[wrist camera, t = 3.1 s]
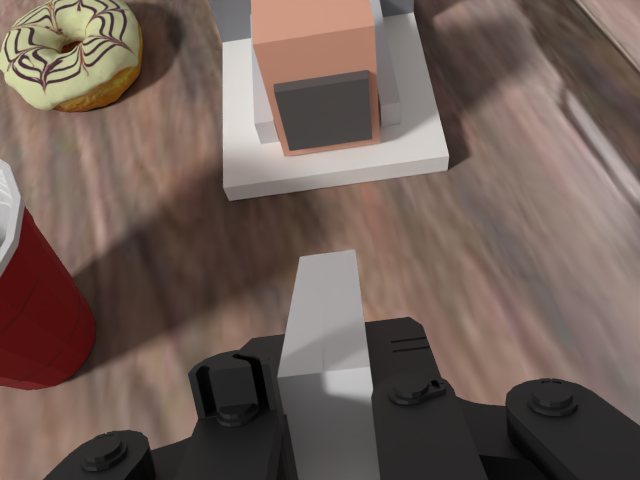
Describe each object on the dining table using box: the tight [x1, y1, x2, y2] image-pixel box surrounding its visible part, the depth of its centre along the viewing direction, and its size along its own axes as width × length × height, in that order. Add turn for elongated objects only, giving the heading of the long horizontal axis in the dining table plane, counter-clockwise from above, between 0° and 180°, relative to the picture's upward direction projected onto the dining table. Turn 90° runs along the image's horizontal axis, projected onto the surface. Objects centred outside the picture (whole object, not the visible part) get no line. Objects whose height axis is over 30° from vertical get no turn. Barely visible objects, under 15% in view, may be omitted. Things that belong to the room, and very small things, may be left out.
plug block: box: [251, 0, 380, 157], centre depth 33 cm, size 6×6×9 cm
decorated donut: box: [0, 0, 143, 112], centre depth 43 cm, size 10×11×4 cm
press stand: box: [209, 0, 449, 201], centre depth 36 cm, size 14×16×10 cm
